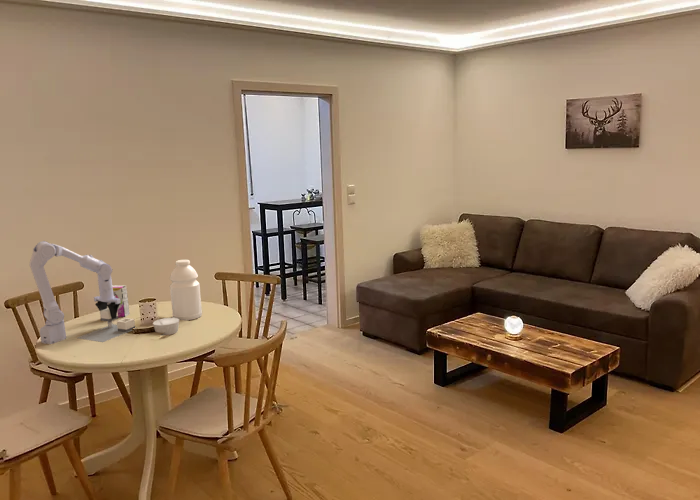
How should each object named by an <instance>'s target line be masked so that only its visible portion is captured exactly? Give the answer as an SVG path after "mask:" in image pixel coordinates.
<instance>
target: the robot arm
mask: <svg viewBox="0 0 700 500" xmlns="http://www.w3.org/2000/svg"><path fill="white" fill-rule="evenodd" d="M54 256H55V257H64V258H67V259H70V260H73V261H75V262H77V263H78V264H79V266H80V267H81V268H84V269H86V270H89V271H90V272H93V273H96V274H97V282H98V283H97V285H98V293H99V296H98V295H97V296H94V297H93V301H94V302H95V306H96V307H97V309H98V310H99V312H100V311H101V310H104V309H107V306H108V308H109V310H110V314H111V318H112V319H114V318H116V315H117V310H118V307H119V305H120V303H121V300H120V299H118V298H116V297H115V296H114V295H113V286H112V285H113V280H112V273H113V268H112V266H111V265H110V264H108V263H106V262H105V261H103V259H98V258H95V257H94V256H93V255H92V254H85V255H84V254H83V255H80V254H79V253H76V252H75V251H72V250H70V249H68V248H66V247H64V246H62V245H59V244H56V243H50V242H48V241H45V240H43V241H39V242H38V243H37V244H36V245H35V246H34V247H33V248H32V253H31V257H30V261H29V267H30V271H31V273H32V277H33V279H34V281H35V284H36V288H37V289H38V293H39V295H40V298H41V301H42V304H43V305H42V306H43V316H44V318H45V319H46V320H45V324H44V325H43V326H41V327H40V328H39V336H40V343H42V344H45V345H46V344H48V345H53V344H55V343H58V342H61V341H64V340H66V339H67V333H66V325H65V320H64V318H65V313H64V312H63V311H62V310H61V309H60V306H59V305H58V303H57V301H56V298H55V296H54V292H53V290H52V287H51V283H50V281H49V278H48V275H47V273H46V270H45V265H46V264H47V263H48V261H49V260H51V259H52V258H53V257H54ZM108 303H111V304H108ZM107 304H108V305H107Z"/></svg>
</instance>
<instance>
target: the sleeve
mask: <svg viewBox="0 0 700 500" xmlns="http://www.w3.org/2000/svg"><path fill="white" fill-rule="evenodd" d="M99 315H100V316H99V317H100V321H101V322H107V321H108V322H110V321H112V322H113V321H114V320H118V319H119V317H118V312H117V315H116V318H114V319H112V318H111V314H110V310H109V308H107V309H104V310H101V311H99Z"/></svg>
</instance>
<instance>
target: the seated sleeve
mask: <svg viewBox="0 0 700 500" xmlns="http://www.w3.org/2000/svg"><path fill="white" fill-rule="evenodd" d="M116 325H117V327H118V331H122V332H127V333H129V332H132V331H133V330H132V329H133V328H135V327H136V324H135V319H134V318H129V317H123V318H122V319H119V320H117V321H116ZM131 330H132V331H131ZM128 331H129V332H128Z"/></svg>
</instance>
